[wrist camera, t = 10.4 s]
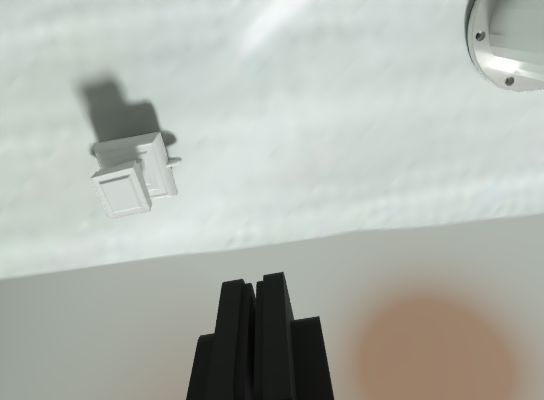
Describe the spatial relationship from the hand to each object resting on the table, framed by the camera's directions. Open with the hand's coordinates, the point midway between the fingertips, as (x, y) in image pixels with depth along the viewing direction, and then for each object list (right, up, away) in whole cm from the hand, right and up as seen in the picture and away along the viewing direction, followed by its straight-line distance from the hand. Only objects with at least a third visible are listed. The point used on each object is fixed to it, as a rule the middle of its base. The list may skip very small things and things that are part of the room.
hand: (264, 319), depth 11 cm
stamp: (-13, +7, +33) cm, 36 cm away
